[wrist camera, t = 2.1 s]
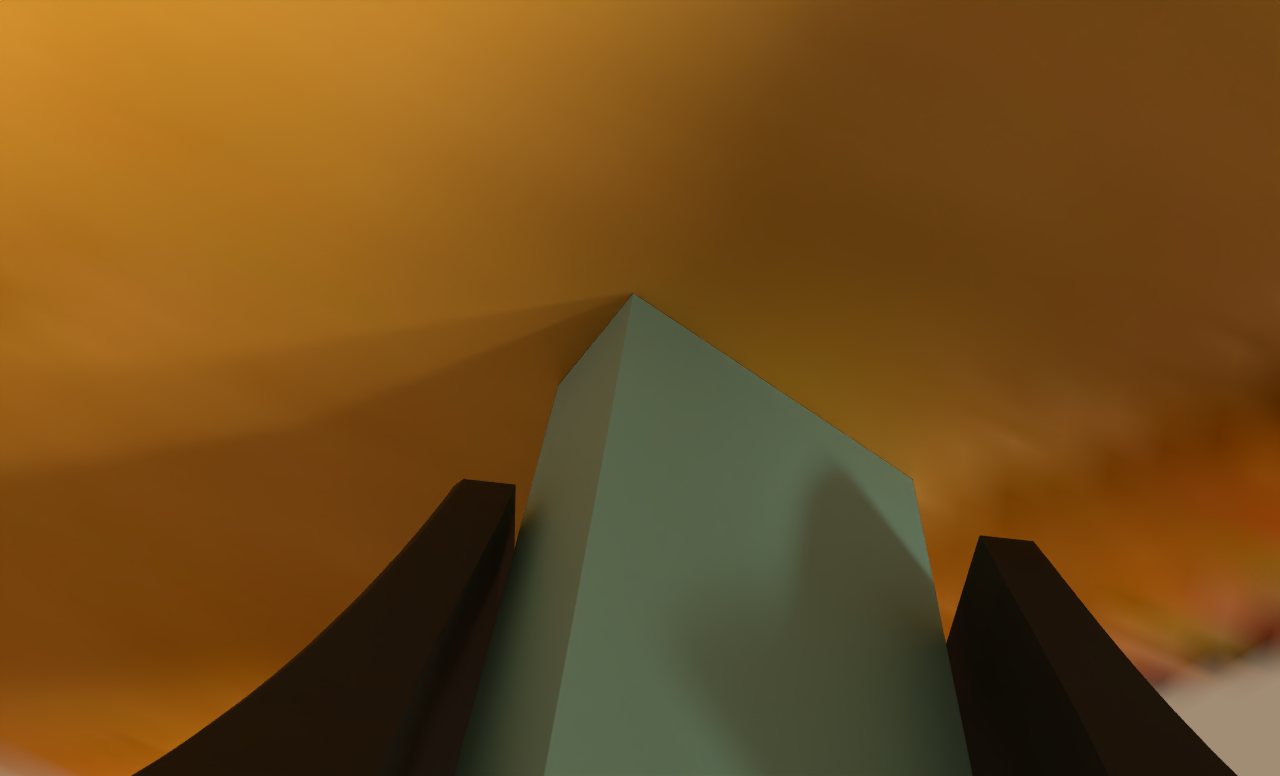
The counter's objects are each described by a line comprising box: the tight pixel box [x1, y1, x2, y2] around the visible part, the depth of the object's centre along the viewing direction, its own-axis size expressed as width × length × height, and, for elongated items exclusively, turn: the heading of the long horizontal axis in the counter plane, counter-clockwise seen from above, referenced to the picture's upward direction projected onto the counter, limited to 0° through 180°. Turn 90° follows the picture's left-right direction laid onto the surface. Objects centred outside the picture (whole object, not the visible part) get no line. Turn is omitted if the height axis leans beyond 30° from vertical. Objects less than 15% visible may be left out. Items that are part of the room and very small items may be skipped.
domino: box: [454, 293, 973, 776], centre depth 12 cm, size 2×5×9 cm, turn 55°
